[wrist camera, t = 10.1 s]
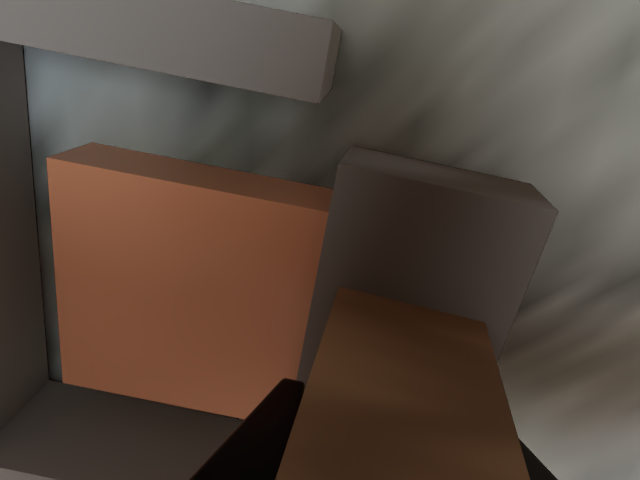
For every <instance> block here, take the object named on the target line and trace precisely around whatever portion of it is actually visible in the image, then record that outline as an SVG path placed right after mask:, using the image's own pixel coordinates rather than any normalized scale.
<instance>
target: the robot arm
mask: <svg viewBox="0 0 640 480" xmlns="http://www.w3.org/2000/svg"><path fill="white" fill-rule="evenodd" d="M304 389H305V384H304V382H302V381H298V380H293V379H289V378H284V379H282V380H281V381H280V382H279V383H278V384H277V385H276V386H275V387H274V388H273V389H272V390H271V391H270V392H269V394H268V395H267V396H266V397H265V398H264V399H263V400H262V401H261V402H260V403H259V404H258V405H257V407H256V408H255V409H254V410H253V411H252V412H251V413H250V414H249V415H248V416H247V417H246V418H245V419H244V421H243V422H242V423H241V424H240V425H239V426H238V427H237V428H236V429H235V430H234V431H233V432H232V433H231V435H230V436H229V437H228V438H227V439H226V440H225V441H224V442H223V443H222V444H221V445H220V446H219V447H218V449H217V450H216V451H215V452H214V453H213V454H212V455H211V456H210V457H209V458H208V459H207V460H206V461H205V463H204V464H203V465H202V466H201V467H200V468H199V469H198V470H197V471H196V472H195V473H194V474H193V476H192V477H191V478H190V479H189V480H275V479H276V476H277V473H278V470H279V467H280V464H281V461H282V458H283V455H284V452H285V448H286V445H287V442H288V439H289V436H290V433H291V430H292V427H293V424H294V421H295V418H296V415H297V412H298V409H299V406H300V403H301V400H302V397H303V394H304ZM518 439H519V438H518ZM519 443H520V446H521V450H522V453H523V457H524V460H525V464H526V467H527V471H528V474H529V478H530V480H558V479H557V478H556V477H555V476H554V475H553V474H552V473H551V472H550V471H549V470H548V469H547V468H546V467H545V466H544V465H543V464H542V462H541V461H540V460H539V459H538V458H537V457H536V456H535V455H534V454H533V453H532V452H531V451H530V450H529V449H528V448H527V447H526V446H525V444H524V443H523V442H522V441H521V440H520V439H519Z"/></svg>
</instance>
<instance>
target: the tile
mask: <svg viewBox="0 0 640 480" xmlns="http://www.w3.org/2000/svg"><path fill="white" fill-rule="evenodd" d="M46 160H47V174H48V188H49V201H50V215H51V229H52V242H53V256H54V270H55V283H56V297H57V311H58V324H59V338H60V352H61V366H62V379H63V383H66V384H71V385H76V386H81V387H86V388H91V389H96V390H101V391H106V392H111V393H116V394H121V395H126V396H131V397H136V398H141V399H146V400H151V401H156V402H161V403H166V404H170V405H175V406H180V407H185V408H190V409H195V410H200V411H205V412H210V413H215V414H220V415H225V416H230V417H235V418H240V419H245V418H246V417H247V416H248V415H249V414H250V413H251V412H252V411H253V410H254V409H255V408H256V407H257V405H258V404H259V403H260V402H261V401H262V400H263V399H264V398H265V397H266V396H267V395H268V394H269V392H270V391H271V390H272V389H273V388H274V387H275V386H276V385H277V384H278V383H279V382H280V381H281V380H282V379H284V378H289V379H293V380H296V379H297V374H298V368H299V363H300V358H301V353H302V348H303V343H304V337H305V332H306V327H307V322H308V317H309V312H310V306H311V301H312V296H313V291H314V286H315V281H316V275H317V270H318V265H319V260H320V255H321V250H322V244H323V239H324V234H325V229H326V224H327V218H328V213H329V208H330V203H331V198H332V193H333V189H330V188H325V187H320V186H315V185H310V184H304V183H299V182H294V181H289V180H284V179H279V178H273V177H268V176H263V175H258V174H253V173H248V172H242V171H237V170H232V169H227V168H222V167H217V166H211V165H206V164H201V163H196V162H191V161H186V160H180V159H175V158H170V157H165V156H160V155H155V154H149V153H144V152H139V151H134V150H129V149H124V148H118V147H113V146H108V145H103V144H98V143H93V142H92V143H89V144H86V145H83V146H80V147H77V148H74V149H71V150H68V151H65V152H61V153H58V154H55V155H52V156H49V157H46Z"/></svg>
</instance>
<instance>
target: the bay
mask: <svg viewBox="0 0 640 480" xmlns="http://www.w3.org/2000/svg"><path fill="white" fill-rule="evenodd" d="M341 33H342V30H341V29H340V27H339V26H338V25H337V24H336V23H335V22H334V21H333V20H328V19H323V18H318V17H313V16H308V15H303V14H298V13H293V12H287V11H282V10H277V9H272V8H267V7H262V6H257V5H252V4H247V3H242V2H236V1H231V0H0V480H189V479H190V478H191V477H192V476H193V474H194V473H195V472H196V471H197V470H198V469H199V468H200V467H201V466H202V465H203V464H204V463H205V461H206V460H207V459H208V458H209V457H210V456H211V455H212V454H213V453H214V452H215V451H216V450H217V449H218V447H219V446H220V445H221V444H222V443H223V442H224V441H225V440H226V439H227V438H228V437H229V436H230V435H231V433H232V432H233V431H234V430H235V429H236V428H237V427H238V426H239V425H240V424H241V423H242V422H243V421H244V420H240V419H235V418H230V417H225V416H220V415H215V414H211V413H206V412H201V411H196V410H191V409H187V408H182V407H177V406H172V405H167V404H162V403H158V402H153V401H148V400H143V399H138V398H133V397H129V396H124V395H119V394H114V393H109V392H104V391H100V390H95V389H90V388H85V387H80V386H75V385H71V384H66V383H61V382H56V381H51V380H49V375H48V363H47V350H46V338H45V325H44V312H43V300H42V287H41V275H40V262H39V250H38V237H37V224H36V212H35V199H34V187H33V174H32V162H31V149H30V136H29V124H28V111H27V99H26V86H25V74H24V61H23V48H22V45H25V46H30V47H35V48H40V49H45V50H50V51H55V52H60V53H65V54H70V55H75V56H80V57H85V58H90V59H95V60H100V61H105V62H110V63H115V64H120V65H125V66H130V67H135V68H141V69H146V70H151V71H156V72H161V73H166V74H171V75H176V76H181V77H186V78H191V79H196V80H201V81H206V82H211V83H216V84H221V85H226V86H231V87H236V88H241V89H246V90H251V91H256V92H262V93H267V94H272V95H277V96H282V97H287V98H292V99H297V100H302V101H307V102H312V103H317V104H319V103H320V102H321V101H322V100H323V98H324V97H325V96H326V95H327V94H328V93H329V92H330V90H331V88H332V82H333V77H334V71H335V66H336V60H337V55H338V49H339V44H340V38H341Z"/></svg>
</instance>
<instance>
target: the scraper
mask: <svg viewBox="0 0 640 480" xmlns="http://www.w3.org/2000/svg"><path fill="white" fill-rule="evenodd" d="M558 212H559V211H558V210H557V209H556V208H555V207H554V206H553V205H552V204H551V203H550V202H549V201H548V200H547V199H546V198H545V197H544V196H543V195H542V194H541V193H540V192H539V191H538V190H537V189H536V188H535V187H534V186H533V185H532V184H529V183H524V182H520V181H515V180H510V179H506V178H501V177H496V176H491V175H487V174H482V173H477V172H473V171H468V170H463V169H459V168H454V167H449V166H444V165H440V164H435V163H430V162H426V161H421V160H416V159H412V158H407V157H402V156H398V155H393V154H388V153H383V152H379V151H374V150H369V149H365V148H360V147H355V146H351V147H350V148H349V150H348V151H347V152H346V154H345V155H344V156H343V158H342V159H341V160H340V162H339V163H338V167H337V172H336V177H335V182H334V187H333V193H332V198H331V203H330V208H329V213H328V218H327V224H326V229H325V234H324V239H323V244H322V250H321V255H320V260H319V265H318V270H317V275H316V281H315V286H314V291H313V296H312V301H311V306H310V312H309V317H308V322H307V327H306V332H305V337H304V343H303V348H302V353H301V358H300V363H299V368H298V374H297V379H296V380H298V381H302V382H304V384H305V389H304V394H303V397H302V400H301V403H300V406H299V409H298V412H297V415H296V418H295V421H294V424H293V427H292V430H291V433H290V436H289V439H288V442H287V445H286V448H285V452H284V455H283V458H282V461H281V464H280V467H279V470H278V473H277V476H276V479H275V480H530V478H529V474H528V471H527V467H526V464H525V460H524V457H523V453H522V450H521V446H520V443H519V439H518V436H517V432H516V429H515V425H514V422H513V418H512V415H511V411H510V408H509V404H508V401H507V397H506V394H505V390H504V387H503V383H502V380H501V376H500V373H499V369H498V366H497V361H498V359H499V356H500V354H501V351H502V349H503V346H504V344H505V342H506V339H507V337H508V334H509V332H510V329H511V327H512V324H513V322H514V320H515V317H516V315H517V312H518V310H519V307H520V305H521V302H522V300H523V298H524V295H525V293H526V290H527V288H528V285H529V283H530V280H531V278H532V276H533V273H534V271H535V268H536V266H537V263H538V261H539V258H540V256H541V254H542V251H543V249H544V246H545V244H546V241H547V239H548V236H549V234H550V232H551V229H552V227H553V224H554V222H555V219H556V217H557V214H558Z"/></svg>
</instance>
